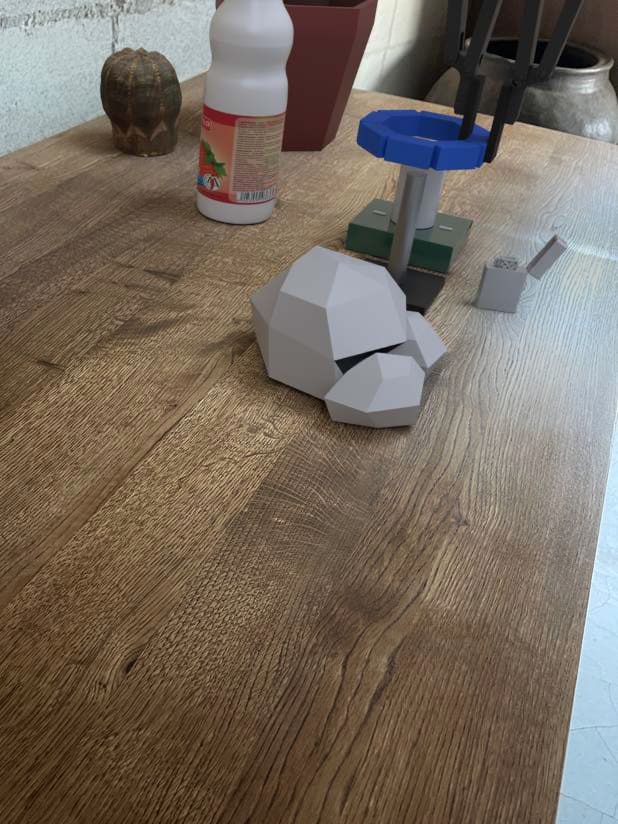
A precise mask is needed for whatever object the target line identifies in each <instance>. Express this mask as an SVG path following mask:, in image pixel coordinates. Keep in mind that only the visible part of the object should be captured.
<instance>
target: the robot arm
mask: <svg viewBox="0 0 618 824" xmlns="http://www.w3.org/2000/svg"><path fill="white" fill-rule="evenodd" d="M503 1H504V0H483V1H482V4H481V7H480V10H479V13H478V17H477V20H476V23H475V26H474V29H473V32H472V35H471V38H470V41H469V44H468V47H467V50H466V51H464V49H465V48H464V46H465V37H466V27H467V19H468V18H467V17H468V7H469V0H448V2H447V13H446V24H445V34H444V35H445V36H444V44H443V45H444V47H443V57H442V59H443V60H442V61H443V63H444V64H445V65H446V66H448V67H452V68H453V69H455V70H456V71H457V72H458V73H459V82H458V87H457V91H456V95H455V100H454V104H453V114H454V115H459V116H462V118H463V120H462V124H461V128H460V132H459V136H458V140H466V139H467V138H468V137H469V136H470V135H471V134H472V133H473V129H474V124H476V120H477V116H478V112H479V107H480V104H481V100H482V96H483V91H484V88H485V83H486V80H487V75H486V74H485V75H484V74H479V71H480V70H481V68H482V67H483V65H482V64H483V60H484V57H485V55H486V51H487V48H488V46H489V42H490V39H491V37H492V34H493V31H494V27H495V25H496V22H497V19H498V15H499V13H500V10H501V7H502V4H503ZM584 2H585V0H565V1H564V4H563V6H562V9H561V10H560V13H559V16H558V18H557V20H556V22H555V25H554V28H553V30H552V33H551V35H550V38H549V40H548V42H547V45H546V48H545V49H544V52H543V54H542V56H541V59H540V61H539V64H535V65H534V60H535V55H536V48H537V44H538V38H539V33H540V27H541V22H542V16H543V11H544V6H545V5H544V4H545V0H525V2H524V6H523V7H524V8H523V14H522V19H521V25H520V33H519V37H518V43H517V50H516V55H515V60H514V67H513V73H512V78H511V79H507V80H506V81H505V82H503V84H502V85H501V86H500V87H501V88H500V92H499V95H498V100H497V104H496V107H495V110H494V111H495V112H494V115H493V117H492V118H493V119H492V122H491V127H490V130H489V131H490V134H489V138H488V142H487V147H486V151H485V155H484V159H483V162H484V164H485V163H486V164H492V162H493V161H494V160H495V159H496V157H497V155H498V151H499V147H500V143H501V139H502V137H503V136H502V135H503V133H504V128H505V125H510V126H513V125H514V124H515V123H516V122H517V120H518V119H519V118H520V114H521V111H522V107H523V103H524V100H525V97H526V93H527V89H528V87H529V86H530V85H533V84H537V83H545V82H546V81H548V80H549V79H550V77H551V76H552V75H553V73H554V71H555V69H556V66H557V64H558V62H559V60H560V57H561V55H562V53H563V50H564V48H565V46H566V43H567V41H568V39H569V37H570V34H571V33H572V32H571V31H572V29H573V27H574V25H575V23H576V20H577V18H578V16H579V13H580V10H581V8H582V6H583V4H584Z"/></svg>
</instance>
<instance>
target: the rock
mask: <svg viewBox="0 0 618 824" xmlns="http://www.w3.org/2000/svg"><path fill="white" fill-rule="evenodd" d="M363 260H364V259H359V258H356V257H354V256H351V255H347V254H344V253H342V252H338V251H335V250H331V249H328V248H325V247H322V246H319V245H315V246H314V247H313V248H312V249H310V250H309V251H308V252H306V253H304V254H303V255H302V256H301V257H299V258H298V259H296V260H295V261H294V262H292V263H291V264H290V265H289V266H287V267H286V268H285V269H284V270H282V271H281V272H280V273H279V274H277V275H276V276H275V277H274V278H272V279H271V280H270V281H268V282H267V283H265V284H264V285H263V286H262V287H261V288H260V289H258V290H257V291H256V292H254V293H253V294H252V295H250V296H249V302H250V309H251V315H252V321H253V328H254V333H255V338H256V340H257V344H258V347H259V350H260V353H261V356H262V359H263V363H264V365H265V369H266V373H267V375H268V377H269V378H270V379H273V380H275V381H277V382H281V383H282V384H285V385H287V386H289V387H291V388H294V389H296V390H299V391H302V392H303V393H306V394H308V395H310V396H313V397H315V398H318V399H320V400H322V401H324V402H325V405H326V408H327V410H328V413H329V417H330V419H331V421H332V422H338V423H344V424H349V425H357V426H362V427H370V428H377V429H379V428H391V427H402V426H414V425H416V424H417V419H418V414H419V411H420V405H421V401H422V395H423V394H422V393H423V389H424V383H425V382H426V381H427V379H428V378H429V377H430V375H431V374H432V373H433V371H434V370H435V369H436V367H437V366H438V364H439V363H440V362H441V360H442V359H443V358H444V357H445V355H446V354H447V352H449V349H448V347H447V346H446V344H445V343H444V341H443V340H442V339H441V337H440V336H439V334H438V332H437V331H436V330H435V328H434V327H433V325H432V324H431V322H430V321H428V319H426V318H425V317H424V316H422V315H421V314H420V313H418V312H412V311H406V296H405V294H404V293H403V291H402V290H401V289H400V287H399V286H398V285H397V283H396V282H395V281H394V279H393V278H392V277H391V275H390V274H389V273H388V271H387V270H386V269H385V267H382V266H379V265H376V264H373V263H370V262H366V261H363Z"/></svg>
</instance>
